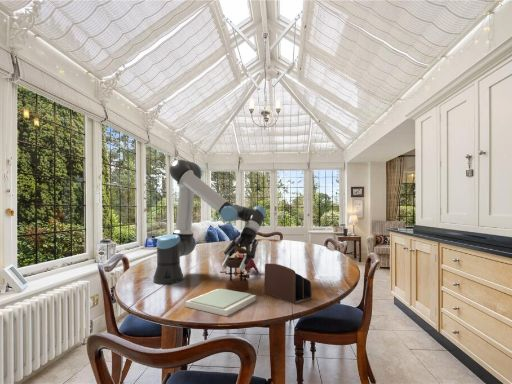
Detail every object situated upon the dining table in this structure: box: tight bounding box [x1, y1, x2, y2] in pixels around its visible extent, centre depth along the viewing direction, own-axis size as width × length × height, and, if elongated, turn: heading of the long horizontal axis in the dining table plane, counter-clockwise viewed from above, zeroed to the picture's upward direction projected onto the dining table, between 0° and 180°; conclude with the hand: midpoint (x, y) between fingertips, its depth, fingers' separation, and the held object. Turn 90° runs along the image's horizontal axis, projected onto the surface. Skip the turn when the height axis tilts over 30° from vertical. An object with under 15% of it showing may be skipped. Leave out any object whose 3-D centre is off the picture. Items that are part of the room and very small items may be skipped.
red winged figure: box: [237, 253, 260, 274], centre depth 171 cm, size 28×9×15 cm
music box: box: [219, 246, 251, 292], centre depth 140 cm, size 15×11×20 cm
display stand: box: [184, 288, 257, 317], centre depth 119 cm, size 20×20×2 cm
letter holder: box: [263, 263, 313, 305], centre depth 128 cm, size 10×20×14 cm, turn 36°
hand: (232, 268), depth 137 cm, fingers open, 9 cm apart
